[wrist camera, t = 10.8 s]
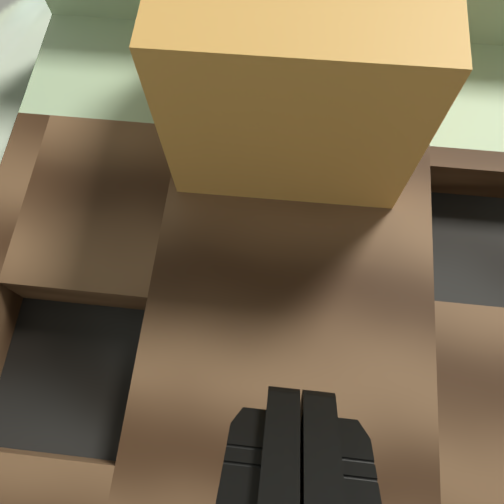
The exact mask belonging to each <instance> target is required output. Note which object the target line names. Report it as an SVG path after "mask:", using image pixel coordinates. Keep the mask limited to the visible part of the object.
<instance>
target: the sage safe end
mask: <svg viewBox="0 0 504 504" xmlns="http://www.w3.org/2000/svg"><path fill="white" fill-rule="evenodd" d="M466 1H467V12H468V23H469V34H470V46H471V57H472V68H473V70H472V71H471V73H470V75H469V77H468V78H467V80H466V82H465V84H464V85H463V87H462V89H461V91H460V92H459V94H458V96H457V97H456V99H455V101H454V103H453V104H452V106H451V108H450V110H449V111H448V113H447V115H446V117H445V118H444V120H443V122H442V123H441V125H440V127H439V129H438V130H437V132H436V134H435V136H434V137H433V139H432V141H431V143H430V146H436V147H448V148H461V149H473V150H485V151H498V152H504V0H466ZM46 2H47V5H48V7H49V9H50V11H51V13H52V16H51V19H50V22H49V25H48V28H47V31H46V34H45V37H44V39H43V42H42V45H41V48H40V51H39V54H38V57H37V60H36V63H35V66H34V68H33V71H32V74H31V77H30V80H29V83H28V86H27V89H26V92H25V95H24V98H23V100H22V103H21V106H20V109H19V112H18V113H30V114H43V115H55V116H67V117H80V118H92V119H104V120H117V121H129V122H141V123H153V124H154V121H153V118H152V115H151V112H150V109H149V106H148V103H147V100H146V97H145V94H144V91H143V88H142V85H141V82H140V79H139V76H138V73H137V70H136V67H135V64H134V61H133V58H132V55H131V52H130V49H129V45H130V41H131V37H132V33H133V29H134V25H135V21H136V17H137V13H138V9H139V4H140V0H46Z"/></svg>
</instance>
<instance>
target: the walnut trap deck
mask: <svg viewBox="0 0 504 504" xmlns="http://www.w3.org/2000/svg"><path fill="white" fill-rule="evenodd" d="M269 386H274V387H283V388H292V389H300V402H301V395H302V390H312V391H321V392H330V393H335V395H336V403H337V414H338V418H347V419H356V420H358V421H359V422H360V424H361V425H362V427H363V428H364V430H365V431H366V433H367V434H368V436H369V437H370V439H371V443H372V449H373V455H374V465H375V467H376V472H377V478H378V479H377V483H378V484H379V490H380V495H381V501H382V504H504V152H498V151H485V150H473V149H461V148H448V147H436V146H430V144H429V146H428V148H427V150H426V151H425V153H424V155H423V156H422V158H421V160H420V162H419V163H418V165H417V167H416V169H415V170H414V172H413V174H412V176H411V177H410V179H409V181H408V182H407V184H406V186H405V188H404V189H403V191H402V193H401V195H400V196H399V198H398V200H397V202H396V203H395V205H394V207H393V208H392V209H389V208H376V207H364V206H351V205H339V204H326V203H313V202H301V201H288V200H276V199H263V198H250V197H238V196H225V195H212V194H200V193H187V192H177V190H176V187H175V184H174V181H173V178H172V175H171V172H170V169H169V166H168V163H167V160H166V157H165V154H164V151H163V148H162V145H161V142H160V139H159V136H158V133H157V130H156V127H155V124H153V123H141V122H129V121H117V120H104V119H92V118H80V117H67V116H55V115H43V114H30V113H18V115H17V118H16V121H15V123H14V126H13V129H12V132H11V135H10V138H9V141H8V144H7V147H6V150H5V152H4V155H3V158H2V161H1V164H0V504H216V498H217V493H218V487H219V482H220V477H221V471H222V466H223V461H224V455H225V450H226V445H227V439H228V433H229V428H230V423H231V422H232V420H233V419H234V418H235V417H236V415H237V414H238V413H239V411H240V410H241V409H242V408H243V407H247V408H256V409H265V410H266V408H267V397H268V387H269Z"/></svg>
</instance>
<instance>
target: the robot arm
mask: <svg viewBox="0 0 504 504" xmlns="http://www.w3.org/2000/svg"><path fill="white" fill-rule="evenodd" d="M377 479H378V478H377V472H376V467H375V465H374V455H373V449H372V443H371V439H370V437H369V436H368V434H367V433H366V431H365V430H364V428H363V427H362V425H361V424H360V422H359V421H358V420H356V419H347V418H338V414H337V403H336V395H335V393H330V392H321V391H312V390H302V395H301V402H300V389H292V388H283V387H274V386H269V387H268V397H267V408H266V410H265V409H256V408H247V407H243V408H242V409H241V410H240V411H239V413H238V414H237V415H236V417H235V418H234V419H233V420H232V422H231V423H230V428H229V433H228V439H227V445H226V450H225V455H224V461H223V466H222V471H221V477H220V482H219V487H218V493H217V498H216V504H382V501H381V495H380V490H379V484H378V483H377Z"/></svg>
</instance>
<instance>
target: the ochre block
mask: <svg viewBox="0 0 504 504" xmlns="http://www.w3.org/2000/svg"><path fill="white" fill-rule="evenodd" d="M129 49H130V52H131V55H132V58H133V61H134V64H135V67H136V70H137V73H138V76H139V79H140V82H141V85H142V88H143V91H144V94H145V97H146V100H147V103H148V106H149V109H150V112H151V115H152V118H153V121H154V124H155V127H156V130H157V133H158V136H159V139H160V142H161V145H162V148H163V151H164V154H165V157H166V160H167V163H168V166H169V169H170V172H171V175H172V178H173V181H174V184H175V187H176V190H177V192H187V193H200V194H212V195H225V196H238V197H250V198H263V199H276V200H288V201H301V202H313V203H326V204H339V205H351V206H364V207H376V208H389V209H392V208H393V207H394V205H395V203H396V202H397V200H398V198H399V196H400V195H401V193H402V191H403V189H404V188H405V186H406V184H407V182H408V181H409V179H410V177H411V176H412V174H413V172H414V170H415V169H416V167H417V165H418V163H419V162H420V160H421V158H422V156H423V155H424V153H425V151H426V150H427V148H428V146H429V144H430V143H431V141H432V139H433V137H434V136H435V134H436V132H437V130H438V129H439V127H440V125H441V123H442V122H443V120H444V118H445V117H446V115H447V113H448V111H449V110H450V108H451V106H452V104H453V103H454V101H455V99H456V97H457V96H458V94H459V92H460V91H461V89H462V87H463V85H464V84H465V82H466V80H467V78H468V77H469V75H470V73H471V71H472V70H473V68H472V57H471V46H470V34H469V23H468V12H467V1H466V0H140V4H139V9H138V13H137V17H136V21H135V25H134V29H133V33H132V37H131V41H130V45H129Z"/></svg>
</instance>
